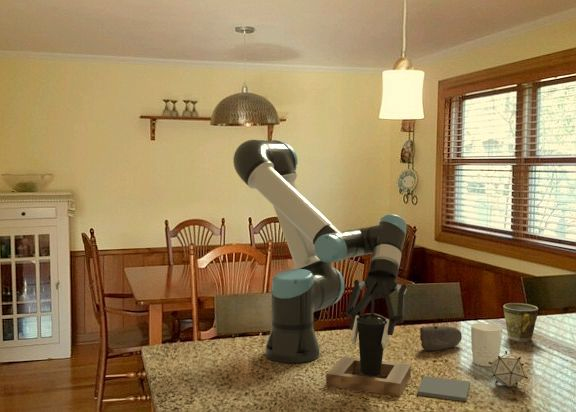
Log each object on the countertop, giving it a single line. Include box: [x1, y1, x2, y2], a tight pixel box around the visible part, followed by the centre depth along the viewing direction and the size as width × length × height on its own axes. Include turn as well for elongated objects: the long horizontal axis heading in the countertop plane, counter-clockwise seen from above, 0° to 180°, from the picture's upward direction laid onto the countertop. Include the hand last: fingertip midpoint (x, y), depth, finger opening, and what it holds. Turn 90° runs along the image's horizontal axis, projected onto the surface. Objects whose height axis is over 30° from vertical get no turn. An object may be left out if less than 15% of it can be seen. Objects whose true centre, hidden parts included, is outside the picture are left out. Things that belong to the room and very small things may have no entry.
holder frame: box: [325, 356, 412, 397], centre depth 149 cm, size 18×14×3 cm
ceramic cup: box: [503, 302, 539, 343], centre depth 184 cm, size 13×10×10 cm
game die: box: [488, 350, 529, 391], centre depth 146 cm, size 9×8×10 cm
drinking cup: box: [357, 293, 388, 377], centre depth 148 cm, size 8×8×20 cm
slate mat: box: [416, 375, 471, 402], centre depth 144 cm, size 11×11×1 cm
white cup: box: [470, 322, 503, 368], centre depth 163 cm, size 8×8×10 cm
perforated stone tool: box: [419, 325, 463, 352], centre depth 175 cm, size 15×5×7 cm, turn 112°
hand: (368, 343), depth 145 cm, fingers closed on drinking cup, 7 cm apart
